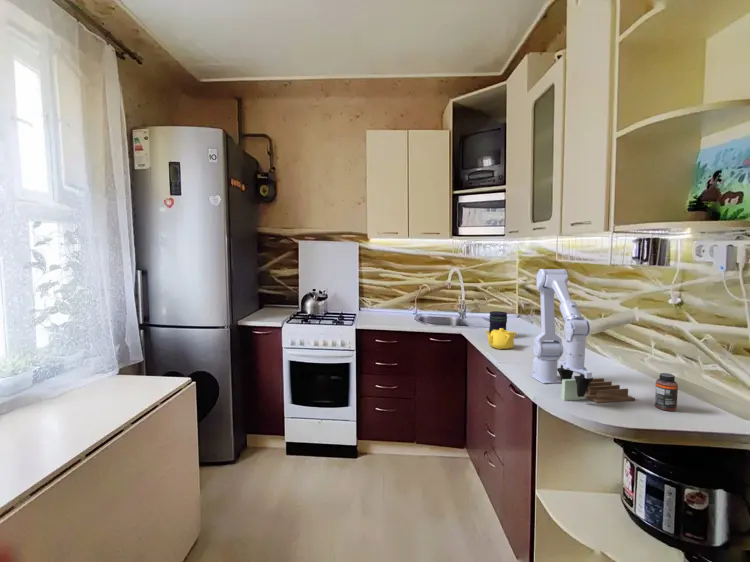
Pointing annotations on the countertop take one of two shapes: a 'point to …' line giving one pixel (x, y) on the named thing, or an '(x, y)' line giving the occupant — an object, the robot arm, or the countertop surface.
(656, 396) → the supplement bottle
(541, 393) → the countertop surface
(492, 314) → the storage jar
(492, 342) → the teapot
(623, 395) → the dish rack
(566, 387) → the pale green flat block
